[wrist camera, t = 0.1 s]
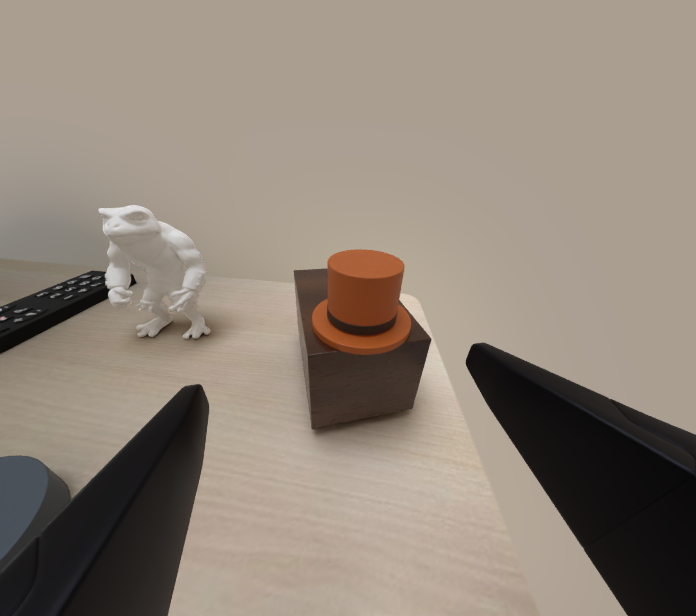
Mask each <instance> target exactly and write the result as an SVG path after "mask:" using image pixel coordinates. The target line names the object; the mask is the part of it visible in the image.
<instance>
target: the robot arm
mask: <svg viewBox="0 0 696 616" xmlns="http://www.w3.org/2000/svg"><path fill="white" fill-rule="evenodd" d="M466 366H467V368H468V370H469V372H470V374H471V376H472V377H473V379H474V381H475V383H476V385H477V387H478V388H479V390H480V392H481V394H482V396H483V398H484V399H485V401H486V403H487V405H488V406H489V408H490V409H491V411H492V412H493V414H494V415H495V417H496V418H497V420H498V421H499V423H500V424H501V426H502V427H503V429H504V430H505V432H506V433H507V435H508V436H509V438H510V439H511V441H512V442H513V444H514V445H515V447H516V448H517V450H518V451H519V453H520V454H521V456H522V457H523V459H524V460H525V462H526V463H527V465H528V466H529V468H530V469H531V471H532V472H533V474H534V475H535V477H536V478H537V480H538V481H539V483H540V484H541V486H542V487H543V489H544V490H545V492H546V493H547V495H548V496H549V498H550V499H551V501H552V502H553V504H554V505H555V507H556V508H557V510H558V511H559V513H560V514H561V516H562V517H563V519H564V520H565V522H566V523H567V525H568V526H569V528H570V529H571V531H572V532H573V534H574V535H575V537H576V538H577V540H578V541H579V543H580V544H581V546H582V547H583V548H584V551H585V552H586V554H587V555H588V557H589V558H590V560H591V561H592V563H593V564H594V566H595V567H596V569H597V570H598V572H599V573H600V575H601V576H602V578H603V579H604V581H605V582H606V584H607V585H608V587H609V588H610V590H611V591H612V593H613V594H614V596H615V597H616V599H617V600H618V602H619V603H620V605H621V606H622V608H623V609H624V611H625V612H626V614H627V615H628V616H696V435H695V434H692V433H690V432H688V431H685V430H682V429H680V428H678V427H675V426H672V425H670V424H668V423H665V422H663V421H661V420H658V419H656V418H653V417H651V416H648V415H646V414H644V413H642V412H639V411H637V410H635V409H632V408H630V407H628V406H625V405H623V404H621V403H619V402H616V401H614V400H612V399H609V398H607V397H605V396H603V395H601V394H598V393H596V392H594V391H592V390H589V389H587V388H585V387H583V386H580V385H578V384H576V383H574V382H571V381H569V380H567V379H565V378H563V377H560V376H558V375H556V374H554V373H551V372H549V371H547V370H545V369H543V368H540V367H538V366H536V365H533V364H531V363H529V362H527V361H524V360H522V359H520V358H518V357H515V356H513V355H511V354H509V353H507V352H504V351H502V350H500V349H497V348H495V347H493V346H491V345H489V344H486V343H476V344H473V345H472V346H471V349H470V351H469V354H468V356H467V359H466ZM208 416H209V403H208V400H207V397H206V395H205V392H204V390H203V387H202V386H201V385H200V384H196V385H190V386H185V387H183V388H182V389H181V390H180V391H179V392H178V393H177V394H176V395H175V396H174V397H173V398H172V399H171V400H170V401H169V402H168V403H167V404H166V405H165V406H164V407H163V408H162V409H161V410H160V411H159V412H158V413H157V414H156V415H155V416H154V417H153V418H152V419H151V420H150V421H149V422H148V423H147V424H146V425H145V426H144V427H143V428H142V429H141V430H140V431H139V432H138V433H137V434H136V435H135V436H134V437H133V438H132V439H131V440H130V441H129V442H128V443H127V444H126V445H125V446H124V447H123V448H122V449H121V450H120V451H119V452H118V453H117V454H116V455H115V456H114V457H113V458H112V460H111V461H110V462H109V463H108V464H107V465H106V466H105V467H104V468H103V469H102V470H101V471H100V472H99V473H98V474H97V475H96V476H95V477H94V478H93V479H92V480H91V481H90V482H89V483H88V484H87V485H86V486H85V487H84V488H83V489H82V490H81V491H80V492H79V493H78V494H77V495H76V496H75V497H74V498H73V499H72V500H71V501H70V502H69V503H68V504H67V505H66V506H65V507H64V508H63V509H62V510H61V511H60V512H59V513H58V514H57V515H56V516H55V517H54V518H53V519H52V520H51V521H50V522H49V523H48V524H47V525H46V526H45V527H44V528H43V529H42V530H41V531H40V533H39V536H36V537H34V538H33V539H32V540H31V541H30V542H29V543H28V544H27V545H26V546H25V547H24V548H23V549H22V550H21V551H20V552H19V553H18V554H17V555H16V556H15V557H14V558H13V559H12V560H11V561H10V562H9V563H8V564H7V565H6V566H5V567H4V568H3V569H2V570H1V571H0V616H168V612H169V607H170V603H171V599H172V594H173V590H174V586H175V582H176V577H177V573H178V569H179V564H180V560H181V556H182V552H183V547H184V543H185V539H186V534H187V530H188V526H189V522H190V517H191V513H192V509H193V505H194V500H195V496H196V492H197V487H198V483H199V479H200V475H201V470H202V465H203V458H204V450H205V441H206V433H207V424H208Z"/></svg>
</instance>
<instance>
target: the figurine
mask: <svg viewBox="0 0 696 616" xmlns="http://www.w3.org/2000/svg"><path fill="white" fill-rule="evenodd" d="M98 210H99V213H100V214H101V215H102V218H103V220H102V221H103V232H104V234H105V235H106V237H107V238H108V239H109V240H110V248H109V249H108V251H107V255H108V257H109V259H110V265H109V267H108V269H107V272H106V274H105V278H106V280H107V281H105V285H107V288H108V289H111V290H110V291H109V293H108V297H109V300H110V303H111V304H112V305H113V306H114V307H116V308H118V309H125V308H127V307H128V306H129V305H131V304H132V302H131V298H130V297H128V298H126V299H122V298H123V296H124V295H132V294H133V293H132V291H128V290H127V289H128V288H129V285H130V283H131V275H130V262H131V263H133V264H135V265H137V266H139V267H143V268H145V271H146V273H147V274H148V276H147V281H148V286H147V288H146V289H145V291H144V293H143V298H142V299H141V300H140V301H139V304H137V305H135V306H134V307H140V309H139V310H138V311H140V310H143V309H144V310H146V311H147V312H152V313H154V314H155V315H156V316H157V317H156V318H154V319H153V320H152V321H150V322H148V323H146V324H141V325H138V326H137V327H136V329H137V330H141V331H140V332H139V333H138V334H137V335H138V336H139V337H144V336H146V335H147V334H148V336H150V337H154V336H155V335H156V334H157V333H158V332H159V331H160V330H161V329H162V328H163V327H164V326H166V325H168V324H169V323H170V322H172V321H173V317H172V316H171V314H170V313H169V311H168V305H167V304H166V303H165V302H164V301H162V298H163V297H164V296H166V295H168V297H169V299H170V301H171V302H172V306H171V307H169V310H170V312H171V311H177V312H178V313H180V314H184V315H186V316H187V317H188V318H189V319H190V320H191V323H192V325H191V328H190V329H189V330H188V331H187V332H186V333H185V334H184V335H183V338H184V339H189V336H190V335H192V337H193V338H194V339H197V338H199V337H200V335H201V334H202V333H204V334H205V335H208V334H209V333H210V329H209V328H208V327H207V326H206V325H205V321H204V317H203V316H202V315H201V314H200V313H199V307H198V305H197V302H198V293H197V292H200V291H201V289H202V288H203V286H204V285H205V282H206V277H207V272H206V268H205V266H204V262H203V259H202V256H201V254H200V253H199V252H198V251H197V250H196V248H195V245H194V243H193V241H192V239H191V238H190V237H189V236H187V235H186V234H184V233H183V232H181V231H178V230H176V229H175V228H173V227H172V226H170V225H169V224H167V223H163V222H160V221H157V220H156V219H155V217H154V215H153V213H152V212H151V211H150V210H148V209H146V208H144V207H141V206H137V205H129V206H126V207H122V208H99V209H98ZM183 264H184V265H185V266H186V267H187V270H186V272H185V273H184V267H183Z"/></svg>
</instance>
